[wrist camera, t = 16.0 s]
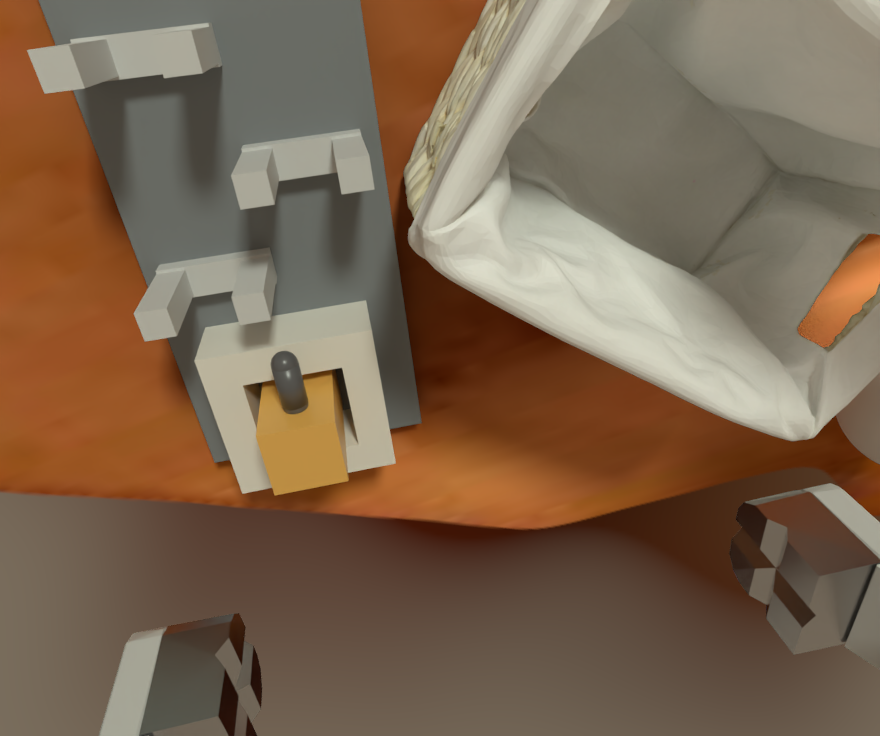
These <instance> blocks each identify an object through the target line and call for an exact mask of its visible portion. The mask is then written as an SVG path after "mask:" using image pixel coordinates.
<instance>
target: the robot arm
mask: <svg viewBox="0 0 880 736" xmlns="http://www.w3.org/2000/svg"><path fill="white" fill-rule="evenodd" d="M736 520H737V522H738V523H739V524H740V525H741V526H742V528H741V529H740V530H739V531H738V532H737V534H736V535H735V536H734V537H733V538H732V540H731V547H730V558H731V562H732V567H733V570H734V572H735V574H736V576H737V578H738V580H739V582H740V584H741V585H742V586H743V588H744V589H745V591H746V592H747V593H748V595H750V596H751V597H753V598H755V599H757V600H759V601H761V602H762V603H764V604H766V618H767V620H768V621H769V623H770V624H771V625H772V627H773V628H774V629H775V631H776V632H777V633H778V635H779V636H780V637H781V639H782V640H783V641H784V643H785V644H786V645H787V647H788V648H789V649H790V651H791V652H792V653H793V654H794V655H795V654H800V653H804V652H809V651H814V650H818V649H823V648H827V647H832V646H837V645H841V644H845V648H847V649H849V650H850V651H852V652H853V653H855V654H856V655H858V656H859V657H861V658H863V659H864V660H866V661H867V662H869V663H870V664H872V665H874V666H875V667H877V668H878V669H880V522H878V520H876V519H875V518H874V517H873V516H872V515H871V514H870V513H869V512H868V511H866V510H865V509H864V508H863V507H862V506H861V505H860V504H859V503H857V502H856V501H855V500H854V499H853V498H852V497H851V496H850V495H849V494H847V493H846V492H845V491H844V490H843V489H842V488H840V487H839V486H836V485H834V484H831V483H829V484H824V485H819V486H815V487H810V488H806V489H802V490H794V491H790V492H785V493H781V494H777V495H772V496H768V497H764V498H759V499H755V500H751V501H746V502H744V503H743V504H742V505H741V506H740V507H739V508H738V512H737V516H736ZM244 638H245V625H244V622H243V620H242V618H241V616H240V614H239V613H236V614H230V615H225V616H219V617H214V618H209V619H203V620H198V621H193V622H187V623H182V624H177V625H171V626H167V627H163V628H157V629H153V630H148V631H143V632H138V633H133V634H132V636H131V637H130V639H129V641H128V642H127V643H126V645H125V648H124V651H123V655H122V658H121V661H120V665H119V668H118V671H117V675H116V678H115V682H114V685H113V689H112V692H111V695H110V699H109V702H108V706H107V709H106V713H105V716H104V719H103V722H102V726H101V729H100V733H99V736H257V734H256V732H255V730H254V728H253V725H252V722H253V720H254V719H255V717H256V716H257V714H258V713H259V711H260V710H261V700H262V699H261V698H262V683H261V669H260V665H259V660H258V656H257V653H256V651H255V648H254V646H253V645H252V644H250V643H248V642H246V641H244Z"/></svg>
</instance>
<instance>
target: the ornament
mask: <svg viewBox="0 0 880 736" xmlns="http://www.w3.org/2000/svg"><path fill="white" fill-rule="evenodd" d="M836 418H837V421H838V423H839V425H840V427H841V429H842V431H843V432H844V434H845V435H846V437H847V438H848V439H849V441H850V442H851V443H852V444H853V445H854V446H855V447H856V448H857V449H858V450H859V451H860V452H861V453H862V454H864V455H865V456H866V457H868V458H869V459H871V460H872V461H874V462H876V463H878V464H880V373H879V374H878V375H877V376H876V377H875V378H874V379H873V380H872V381H871V382H870V383H869V384H868V385H867V386H866V387H865V388H864V389H863V390H862V391H861V392H860V393H859V394H858V395H857V396H856V397H855V398H854V399H853V400H852V401H851V402H850V403H849V404H848V405H847V406H846V407H845V408H843V409H842V410H841V411H840V412H839V413H838V414H836Z"/></svg>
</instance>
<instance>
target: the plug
mask: <svg viewBox="0 0 880 736" xmlns="http://www.w3.org/2000/svg"><path fill="white" fill-rule="evenodd" d="M270 365H271V370H272V373H273V377H274V380H271V381H265V382H263V383H262V391H261V399H260V407H259V415H258V422H257V430H256V439H257V442H258V446H259V449H260V452H261V455H262V458H263V461H264V464H265V467H266V470H267V473H268V476H269V479H270V483H271V486H272V489H273V492H274V495H280V494H285V493H290V492H296V491H301V490H306V489H311V488H316V487H321V486H326V485H331V484H336V483H341V482H346V481H349V478H348V466H347V453H346V441H345V429H344V416H343V404H342V398H341V393H340V389H339V384H338V380H337V375H336V371H335V369H332V370H326V371H321V372H315V373H309V374H304V375H302V374H301V370H300V366H299V362H298V359H297V357H296V356H295V355H294V354H293V353H291V352H289V351H280V352H278V353H276V354H275V355H274V356H273V357H272V359H271V364H270Z"/></svg>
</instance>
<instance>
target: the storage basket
mask: <svg viewBox="0 0 880 736" xmlns="http://www.w3.org/2000/svg"><path fill="white" fill-rule="evenodd" d="M403 175H404V180H405V186H406V195H407V204H408V208H409V209H410V210H411V211H412V215H413V218H414V221H413V223H412V225H411V227H410V228H409V230H408V242H409V245H410V246H411V248H412V249H413V250H414V251H415V253H416V254H418V255H419V256H421V257H422V258H424V259H426V260H427V261H428V262H429V263H430V264H431V265H432V267H433V268H434V269H435V270H437V271H438V272H439V273H441V274H442V275H443V276H445V277H446V278H448V279H449V280H451V281H452V282H454V283H456V284H458V285H459V286H461V287H463V288H465V289H467V290H468V291H470V292H472V293H474V294H476V295H477V296H479V297H481V298H483V299H484V300H486V301H488V302H490V303H492V304H493V305H495V306H497V307H499V308H501V309H503V310H505V311H506V312H508V313H510V314H512V315H514V316H516V317H518V318H520V319H521V320H523V321H525V322H527V323H529V324H531V325H533V326H535V327H537V328H539V329H541V330H543V331H545V332H546V333H548V334H550V335H552V336H554V337H556V338H558V339H560V340H562V341H564V342H566V343H568V344H570V345H572V346H574V347H576V348H579V349H581V350H583V351H585V352H587V353H589V354H591V355H593V356H595V357H597V358H599V359H601V360H603V361H605V362H608V363H610V364H612V365H614V366H616V367H618V368H620V369H622V370H624V371H626V372H628V373H630V374H632V375H634V376H636V377H638V378H641V379H643V380H645V381H647V382H649V383H652V384H654V385H655V386H657V387H659V388H661V389H663V390H665V391H667V392H669V393H671V394H673V395H675V396H677V397H679V398H681V399H683V400H685V401H687V402H690V403H692V404H694V405H696V406H698V407H700V408H702V409H704V410H706V411H709V412H711V413H713V414H715V415H718V416H720V417H722V418H724V419H727V420H729V421H732V422H735V423H737V424H740V425H743V426H745V427H748V428H751V429H754V430H757V431H760V432H763V433H766V434H768V435H771V436H774V437H778V438H781V439H785V440H789V441H798V440H807V439H811V438H814V437H815V436H816V435H817V434H818V433H819V432H820V430H821V429H822V428H823V427H824V426H825V425H826V424H827V423H828V422H829V421H830V420H831V419H832V418H833V417H834V416H835V415H836V414H838V413H839V412H840V411H841V410H842V409H843V408H845V407H846V406H847V405H848V404H849V403H850V402H851V401H852V400H853V399H854V398H855V397H856V396H857V395H858V394H859V393H860V392H861V391H862V390H863V389H864V388H865V387H866V386H867V385H868V384H869V383H870V382H871V381H872V380H873V379H874V378H875V377H876V376H877V375H878V374H879V373H880V284H879V286H878V289H877V292H876V295H874V296H873V297H872V298H871V299H870V300H868V301H867V302H866V303H865V304H863V305H862V310H861V311H860V312H859V313H857V314H855V315H853V316H852V317H851V318H850V320H849V323H848V324H847V325H846V326H845V328H844V329H843V330H842V332H841V333H840V334H838V335H837V336H835V340H834V342H833V343H832V344H831V345H830V346H829V347H824V348H823V347H821V346H819V345H818V344H816V343H814V342H812V341H810V340H808V339H806V338H804V337H802V336H801V335H799V333H798V330H797V329H798V327H799V325H800V323H801V322H802V321H803V319H804V318H805V317H806V315H807V314H808V312H809V311H810V309H811V307H812V305H813V304H814V302H815V300H816V299H817V297H818V296H819V294H820V293H821V292H822V290H823V289H824V287H825V286H826V285H827V283H828V282H829V280H830V278H831V277H832V275H833V274H834V272H835V271H836V270H837V269H838V268H839V266H840V265H841V263H842V262H843V261H844V260H845V259H846V258H847V257H848V256H849V255H850V254H851V253H852V252H853V251H854V249H855V248H856V246H857V244H859V243H860V242H861V241H862V240H863V239H864V238H865V237H866V236H867V235H868V234H878V235H880V0H488V1H487V3H486V5H485V7H484V9H483V11H482V13H481V15H480V18H479V20H478V23H477V25H476V27H475V29H474V30H473V31H472V32H471V33H470V35H469V37H468V39H467V41H466V43H465V45H464V46H463V48H462V50H461V52H460V55H459V57H458V59H457V62H456V64H455V67H454V69H453V72H452V73H451V75H450V77H449V78H448V80H447V81H446V83H445V85H444V87H443V89H442V91H441V93H440V95H439V97H438V99H437V102H436V104H435V106H434V109H433V111H432V114H431V116H430V118H429V119H428V121H427V122H426V123H425V124H424V125H423V127H422V129H421V131H420V133H419V135H418V137H417V140H416V142H415V145H414V148H413V151H412V154H411V158H410V159H409V161H408V164H407V165H406V167H405V169H404V172H403Z"/></svg>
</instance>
